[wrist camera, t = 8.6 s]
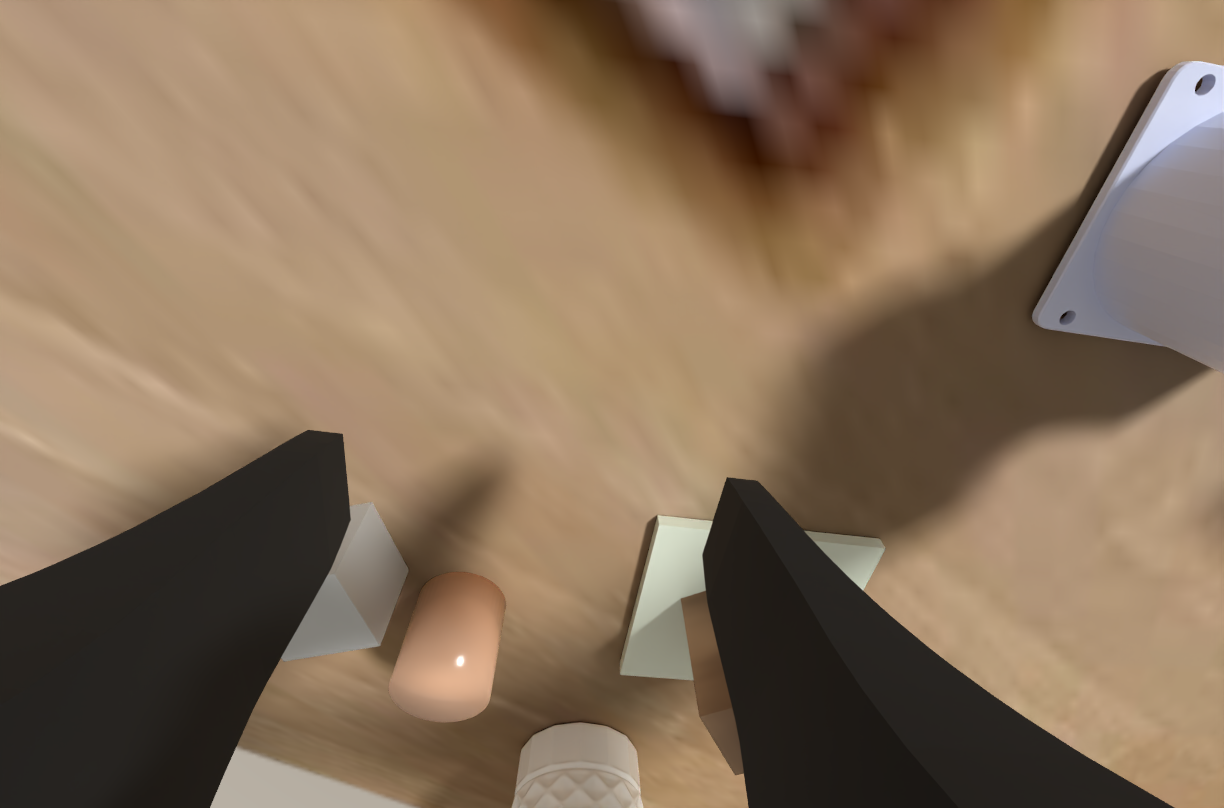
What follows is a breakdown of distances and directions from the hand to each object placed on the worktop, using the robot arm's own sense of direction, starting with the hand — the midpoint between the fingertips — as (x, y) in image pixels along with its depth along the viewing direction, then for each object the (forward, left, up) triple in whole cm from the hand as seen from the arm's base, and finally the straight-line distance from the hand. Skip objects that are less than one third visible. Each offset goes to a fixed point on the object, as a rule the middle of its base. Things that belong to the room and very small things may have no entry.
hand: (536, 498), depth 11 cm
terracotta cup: (+3, +15, -10) cm, 18 cm away
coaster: (-10, +14, -10) cm, 20 cm away
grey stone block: (+8, +12, -10) cm, 18 cm away
